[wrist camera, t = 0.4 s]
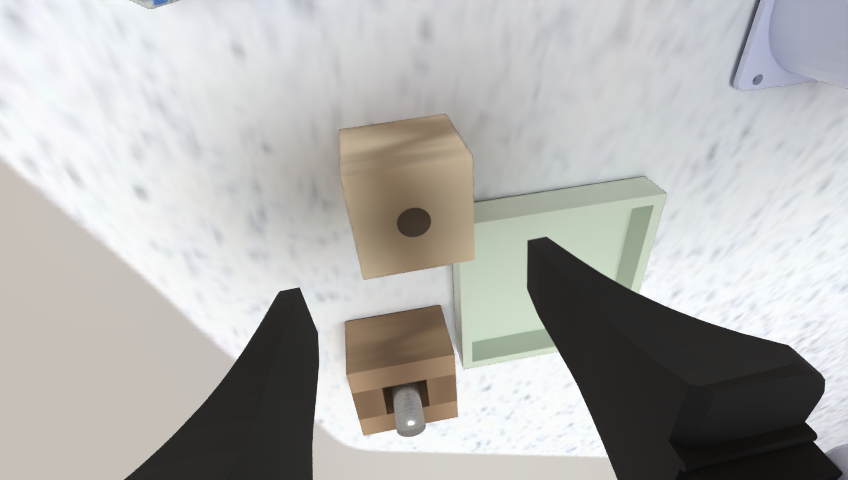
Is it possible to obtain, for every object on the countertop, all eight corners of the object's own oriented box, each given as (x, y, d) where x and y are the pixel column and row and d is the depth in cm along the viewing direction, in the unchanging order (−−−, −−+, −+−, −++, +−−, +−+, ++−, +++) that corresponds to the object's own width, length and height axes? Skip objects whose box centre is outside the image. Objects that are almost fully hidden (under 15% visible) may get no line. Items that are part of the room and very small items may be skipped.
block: (445, 113, 20) (472, 157, 16) (450, 204, 23) (475, 260, 19) (339, 128, 20) (340, 177, 16) (358, 219, 23) (363, 279, 19)
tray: (645, 176, 24) (667, 193, 23) (610, 317, 31) (625, 338, 29) (449, 206, 23) (458, 226, 22) (456, 346, 30) (463, 369, 28)
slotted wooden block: (440, 305, 27) (454, 354, 24) (444, 366, 31) (457, 416, 27) (345, 321, 27) (346, 374, 23) (360, 382, 30) (363, 435, 27)
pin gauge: (409, 335, 28) (424, 416, 23) (411, 351, 29) (426, 433, 24) (384, 339, 28) (395, 422, 23) (388, 355, 29) (398, 439, 24)
